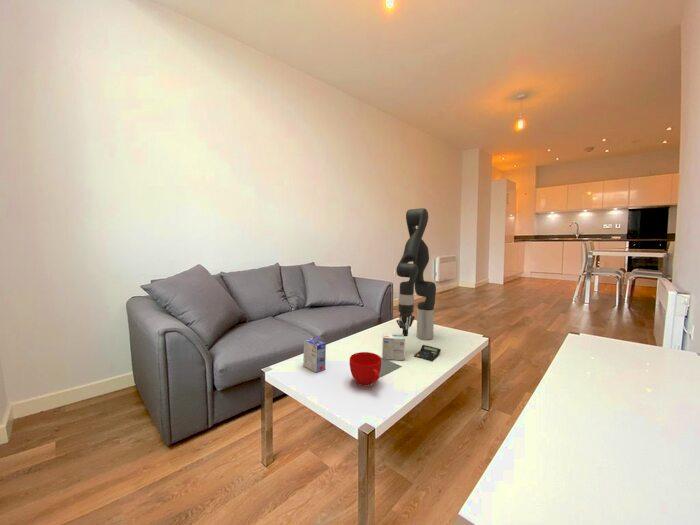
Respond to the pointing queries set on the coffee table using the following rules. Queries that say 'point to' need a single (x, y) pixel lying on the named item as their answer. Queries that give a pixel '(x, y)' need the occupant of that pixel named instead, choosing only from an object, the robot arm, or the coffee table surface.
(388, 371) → the mat
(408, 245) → the robot arm
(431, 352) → the calculator
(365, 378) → the ceramic cup
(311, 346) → the ink cartridge box
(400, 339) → the light bulb box
